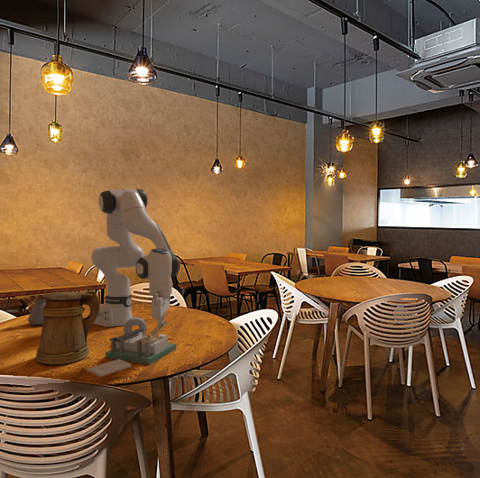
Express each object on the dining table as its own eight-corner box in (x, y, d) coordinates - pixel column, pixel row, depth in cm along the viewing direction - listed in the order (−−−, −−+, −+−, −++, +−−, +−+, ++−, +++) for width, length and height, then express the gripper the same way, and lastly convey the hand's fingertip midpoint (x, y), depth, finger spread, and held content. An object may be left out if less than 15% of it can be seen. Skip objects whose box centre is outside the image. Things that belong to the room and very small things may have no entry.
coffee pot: (30, 328, 197) (29, 297, 196) (26, 323, 206) (25, 293, 206) (76, 321, 210) (75, 292, 209) (70, 317, 219) (70, 289, 218)
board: (105, 357, 157) (105, 338, 157) (135, 343, 175) (135, 325, 174) (149, 364, 150) (149, 344, 149) (176, 348, 167) (176, 330, 167)
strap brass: (140, 347, 153) (139, 342, 152) (162, 324, 167) (161, 320, 166) (145, 348, 152) (144, 343, 151) (167, 325, 166) (167, 320, 165)
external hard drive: (131, 368, 148) (99, 378, 138) (118, 362, 153) (87, 372, 144) (131, 363, 147) (99, 373, 138) (118, 358, 153) (87, 367, 144)
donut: (124, 342, 176) (124, 319, 175) (123, 340, 179) (122, 317, 178) (147, 339, 180) (147, 317, 180) (145, 337, 183) (145, 315, 183)
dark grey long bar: (113, 343, 157) (113, 338, 157) (138, 332, 172) (138, 327, 172) (118, 344, 156) (118, 339, 156) (143, 333, 171) (143, 328, 171)
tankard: (31, 355, 159) (29, 292, 157) (92, 344, 173) (91, 285, 171) (41, 369, 144) (40, 299, 143) (107, 356, 159) (106, 292, 157)
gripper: (163, 294, 152) (164, 331, 153) (172, 285, 172) (173, 318, 173) (146, 294, 152) (147, 331, 153) (157, 285, 172) (158, 318, 173)
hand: (161, 324), depth 163 cm, fingers closed
